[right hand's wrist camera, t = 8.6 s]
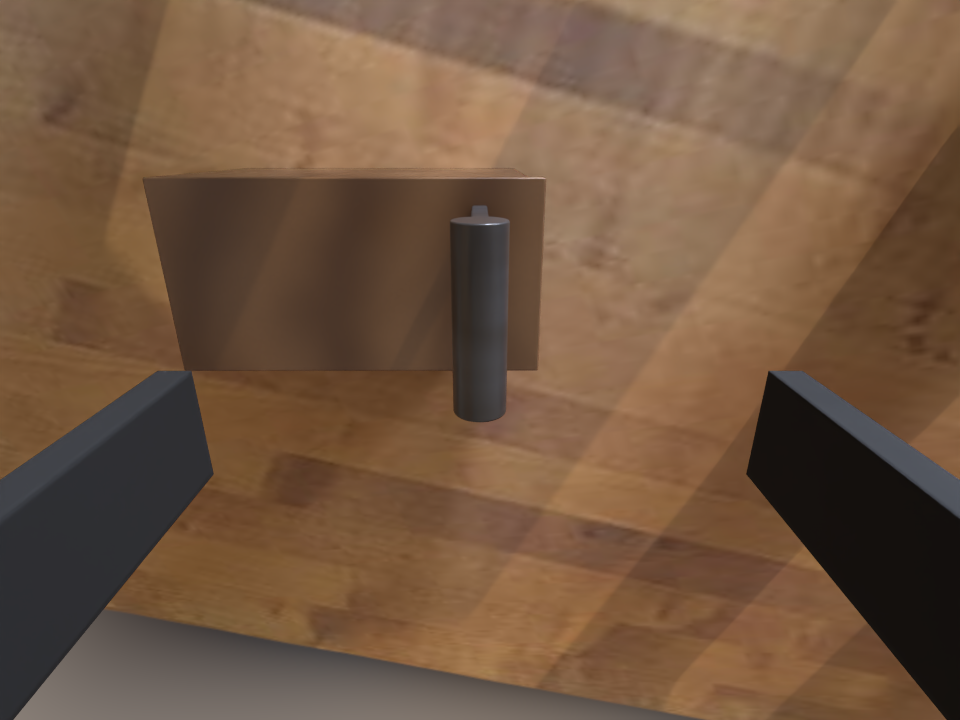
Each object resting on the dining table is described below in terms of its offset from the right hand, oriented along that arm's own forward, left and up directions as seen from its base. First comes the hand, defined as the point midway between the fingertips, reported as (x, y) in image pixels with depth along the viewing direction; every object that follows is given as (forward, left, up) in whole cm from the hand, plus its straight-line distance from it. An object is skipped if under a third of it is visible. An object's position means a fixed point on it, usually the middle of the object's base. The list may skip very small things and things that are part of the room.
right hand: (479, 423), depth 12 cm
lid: (+3, -5, -15) cm, 16 cm away
